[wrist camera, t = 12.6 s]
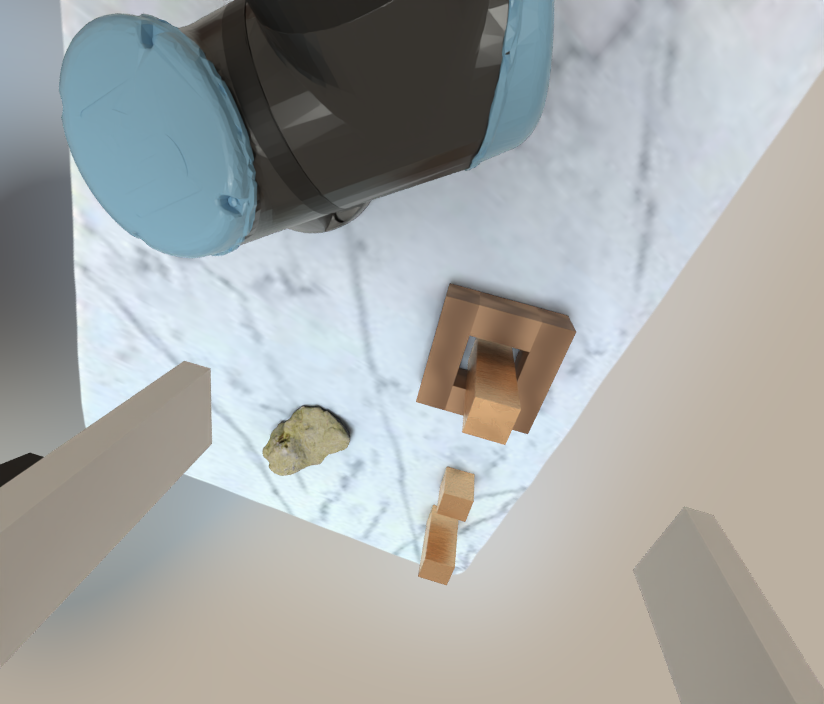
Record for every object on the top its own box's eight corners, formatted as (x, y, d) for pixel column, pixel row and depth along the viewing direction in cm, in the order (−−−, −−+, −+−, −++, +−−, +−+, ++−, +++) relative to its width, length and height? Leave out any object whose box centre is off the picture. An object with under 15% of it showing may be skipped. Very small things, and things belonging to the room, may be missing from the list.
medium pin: (426, 522, 62) (418, 576, 54) (433, 504, 60) (425, 558, 52) (451, 529, 61) (446, 585, 53) (458, 512, 59) (454, 567, 52)
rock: (360, 420, 56) (295, 389, 54) (352, 453, 51) (280, 421, 49) (328, 463, 62) (267, 437, 59) (318, 498, 56) (251, 471, 54)
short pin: (440, 486, 58) (436, 513, 53) (446, 466, 56) (443, 492, 52) (466, 493, 58) (465, 521, 53) (474, 474, 56) (473, 501, 51)
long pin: (467, 361, 48) (462, 432, 36) (477, 332, 46) (475, 396, 34) (499, 370, 48) (505, 444, 36) (511, 341, 46) (520, 409, 34)
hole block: (421, 382, 50) (416, 401, 46) (449, 283, 44) (446, 295, 40) (524, 411, 50) (527, 434, 46) (567, 315, 44) (576, 331, 40)
